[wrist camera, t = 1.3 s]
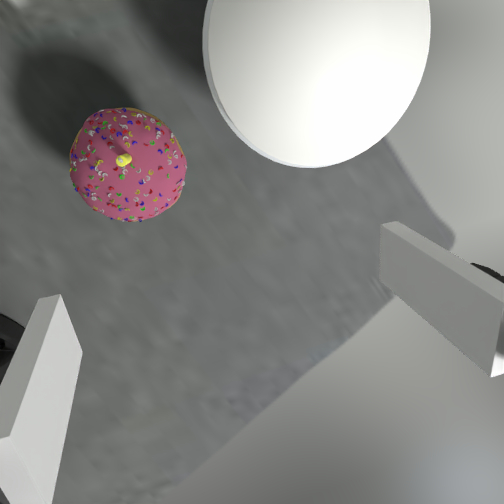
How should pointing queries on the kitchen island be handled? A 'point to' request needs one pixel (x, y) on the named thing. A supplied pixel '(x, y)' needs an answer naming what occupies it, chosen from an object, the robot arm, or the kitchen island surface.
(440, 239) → the kitchen island surface
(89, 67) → the kitchen island surface
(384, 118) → the cake stand
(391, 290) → the robot arm
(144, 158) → the cupcake
